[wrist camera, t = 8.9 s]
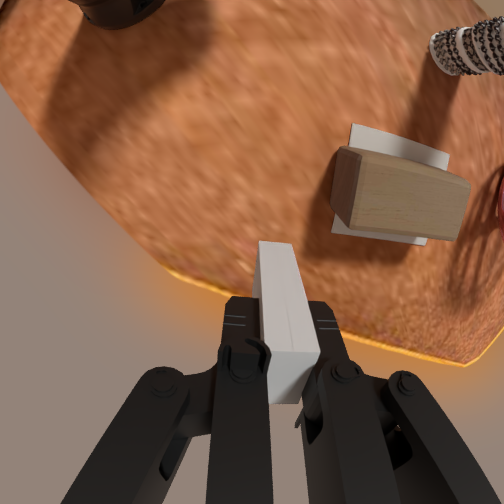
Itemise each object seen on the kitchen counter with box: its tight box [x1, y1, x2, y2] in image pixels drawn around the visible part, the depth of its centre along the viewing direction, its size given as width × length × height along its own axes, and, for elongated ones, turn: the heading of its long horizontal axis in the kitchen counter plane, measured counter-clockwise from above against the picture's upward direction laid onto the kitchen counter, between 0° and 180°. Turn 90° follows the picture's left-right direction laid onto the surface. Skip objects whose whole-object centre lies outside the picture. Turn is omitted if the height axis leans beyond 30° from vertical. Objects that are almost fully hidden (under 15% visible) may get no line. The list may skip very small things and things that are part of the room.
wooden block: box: [330, 146, 471, 241], centre depth 35 cm, size 10×10×20 cm
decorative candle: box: [429, 16, 504, 76], centre depth 17 cm, size 9×9×25 cm
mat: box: [331, 123, 450, 246], centre depth 40 cm, size 18×20×1 cm
